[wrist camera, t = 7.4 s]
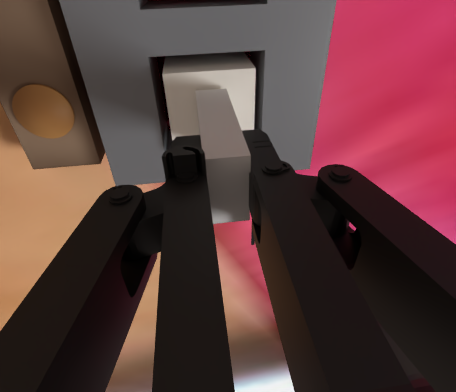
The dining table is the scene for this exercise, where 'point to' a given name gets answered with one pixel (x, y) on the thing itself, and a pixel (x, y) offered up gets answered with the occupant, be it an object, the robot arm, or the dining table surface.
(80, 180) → the dining table surface
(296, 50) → the button panel
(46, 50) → the pattern sign
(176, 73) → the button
